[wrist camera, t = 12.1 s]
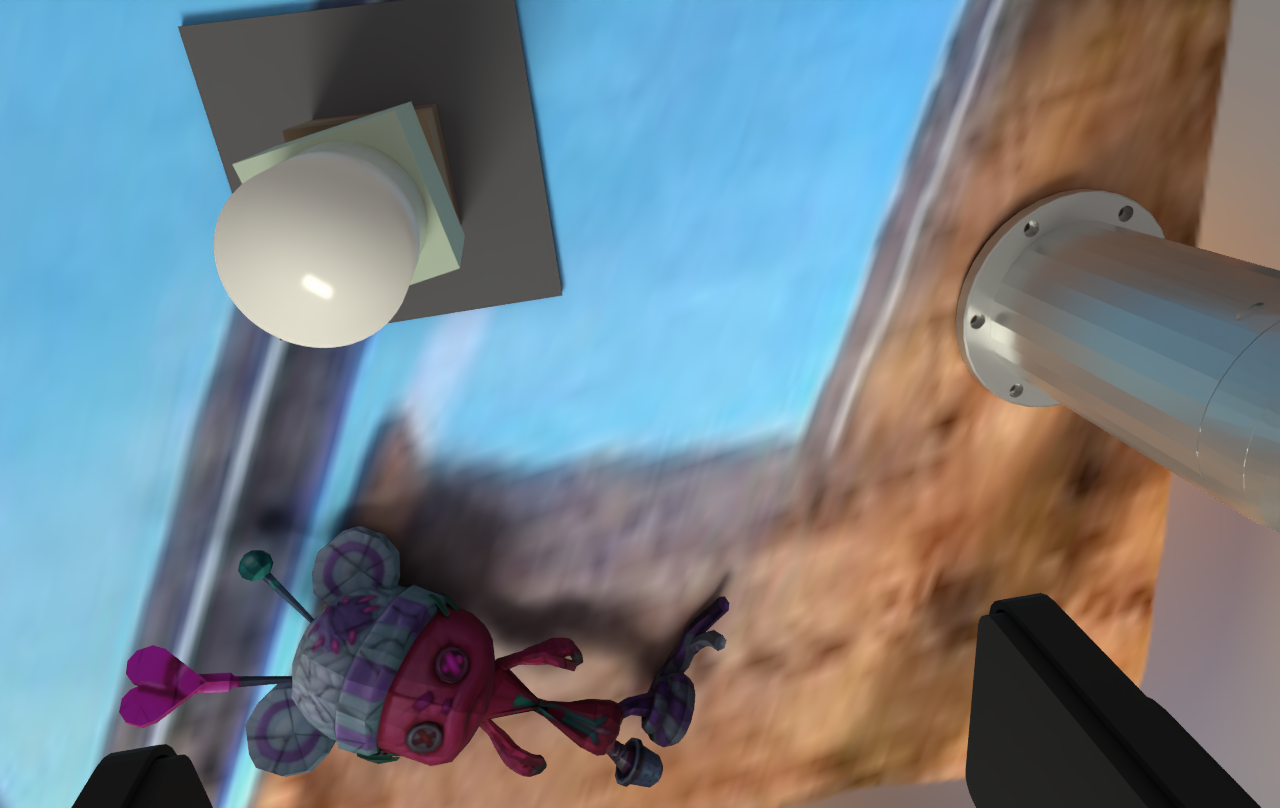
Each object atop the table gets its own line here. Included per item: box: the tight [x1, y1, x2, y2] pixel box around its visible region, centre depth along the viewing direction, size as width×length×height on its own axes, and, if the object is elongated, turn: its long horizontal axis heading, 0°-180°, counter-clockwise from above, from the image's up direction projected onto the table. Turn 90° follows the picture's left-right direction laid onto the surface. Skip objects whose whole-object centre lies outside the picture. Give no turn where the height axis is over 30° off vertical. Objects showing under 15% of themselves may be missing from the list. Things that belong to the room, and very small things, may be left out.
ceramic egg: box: [214, 141, 427, 348], centre depth 24 cm, size 5×5×6 cm
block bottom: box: [282, 104, 462, 225], centre depth 34 cm, size 6×6×6 cm
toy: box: [119, 526, 729, 787], centre depth 44 cm, size 16×9×30 cm
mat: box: [178, 0, 562, 340], centre depth 37 cm, size 14×14×1 cm
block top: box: [232, 101, 465, 285], centre depth 29 cm, size 6×6×6 cm
